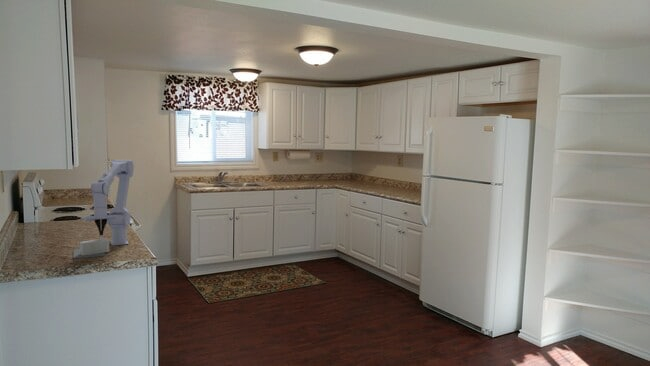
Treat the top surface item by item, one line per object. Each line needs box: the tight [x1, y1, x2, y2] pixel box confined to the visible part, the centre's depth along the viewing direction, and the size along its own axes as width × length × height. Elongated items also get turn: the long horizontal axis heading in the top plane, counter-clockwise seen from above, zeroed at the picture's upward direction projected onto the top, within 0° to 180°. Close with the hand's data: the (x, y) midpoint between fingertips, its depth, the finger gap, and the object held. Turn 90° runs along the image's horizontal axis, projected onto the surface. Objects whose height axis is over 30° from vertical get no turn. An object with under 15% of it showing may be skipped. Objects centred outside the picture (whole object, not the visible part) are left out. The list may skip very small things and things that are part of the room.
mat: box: [72, 248, 106, 260], centre depth 221 cm, size 18×13×1 cm
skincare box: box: [79, 238, 110, 256], centre depth 219 cm, size 6×4×12 cm
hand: (101, 234), depth 223 cm, fingers closed
